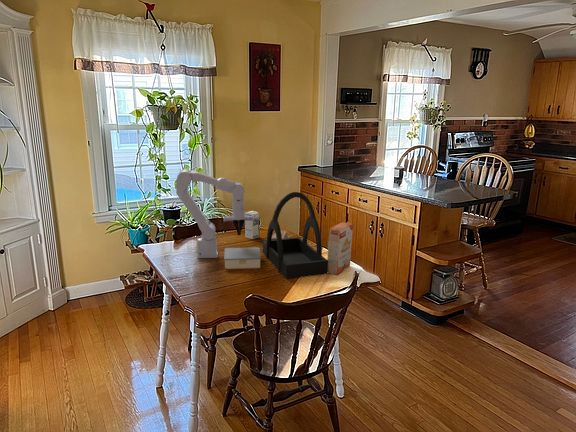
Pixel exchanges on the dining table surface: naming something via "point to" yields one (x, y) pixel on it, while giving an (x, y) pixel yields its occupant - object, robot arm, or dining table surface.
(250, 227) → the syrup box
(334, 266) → the cracker box
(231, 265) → the box
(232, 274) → the dining table surface
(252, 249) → the lid
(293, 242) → the basket
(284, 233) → the packaged product
